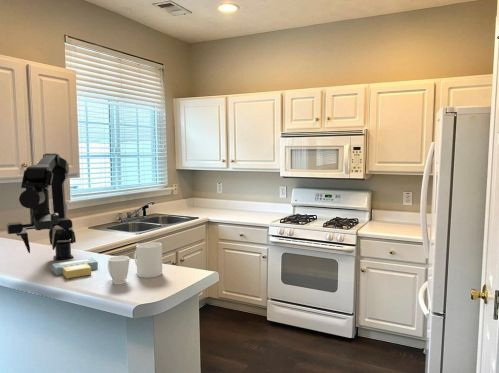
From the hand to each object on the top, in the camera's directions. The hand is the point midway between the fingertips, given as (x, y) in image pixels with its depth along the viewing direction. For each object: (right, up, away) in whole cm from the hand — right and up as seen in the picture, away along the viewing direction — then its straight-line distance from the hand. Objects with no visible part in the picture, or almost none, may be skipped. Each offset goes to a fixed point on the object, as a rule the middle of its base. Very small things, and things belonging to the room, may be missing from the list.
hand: (41, 251), depth 129 cm
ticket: (+5, -9, +14) cm, 17 cm away
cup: (+25, -10, 0) cm, 27 cm away
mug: (+33, -10, +8) cm, 35 cm away
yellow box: (+9, -10, +7) cm, 15 cm away
